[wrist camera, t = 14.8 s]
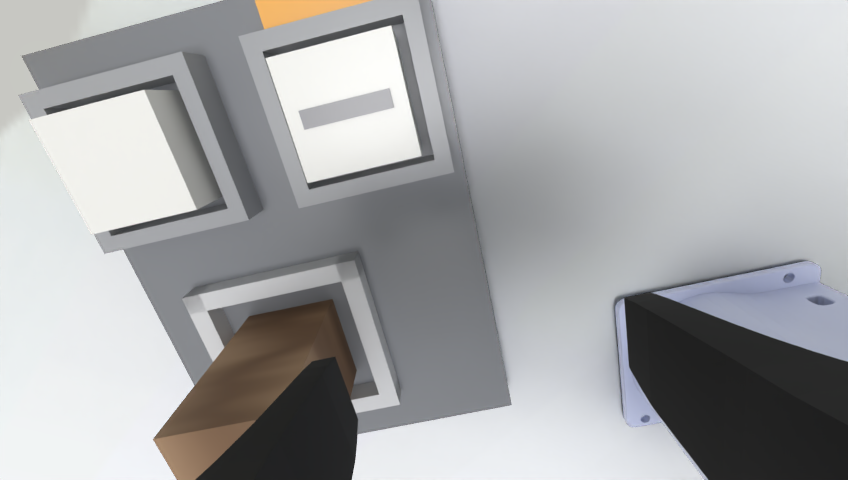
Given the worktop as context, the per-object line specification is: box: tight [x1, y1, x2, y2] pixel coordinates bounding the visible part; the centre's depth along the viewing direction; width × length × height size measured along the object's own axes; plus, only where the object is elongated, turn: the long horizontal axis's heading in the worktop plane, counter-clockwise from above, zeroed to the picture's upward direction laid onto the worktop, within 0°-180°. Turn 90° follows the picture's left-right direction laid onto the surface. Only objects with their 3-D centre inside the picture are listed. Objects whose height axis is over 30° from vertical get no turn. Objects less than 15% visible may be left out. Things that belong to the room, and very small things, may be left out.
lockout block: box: [153, 299, 357, 480], centre depth 16 cm, size 4×4×7 cm
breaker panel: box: [19, 0, 511, 434], centre depth 17 cm, size 15×20×4 cm
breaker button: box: [266, 25, 422, 183], centre depth 14 cm, size 4×4×3 cm
